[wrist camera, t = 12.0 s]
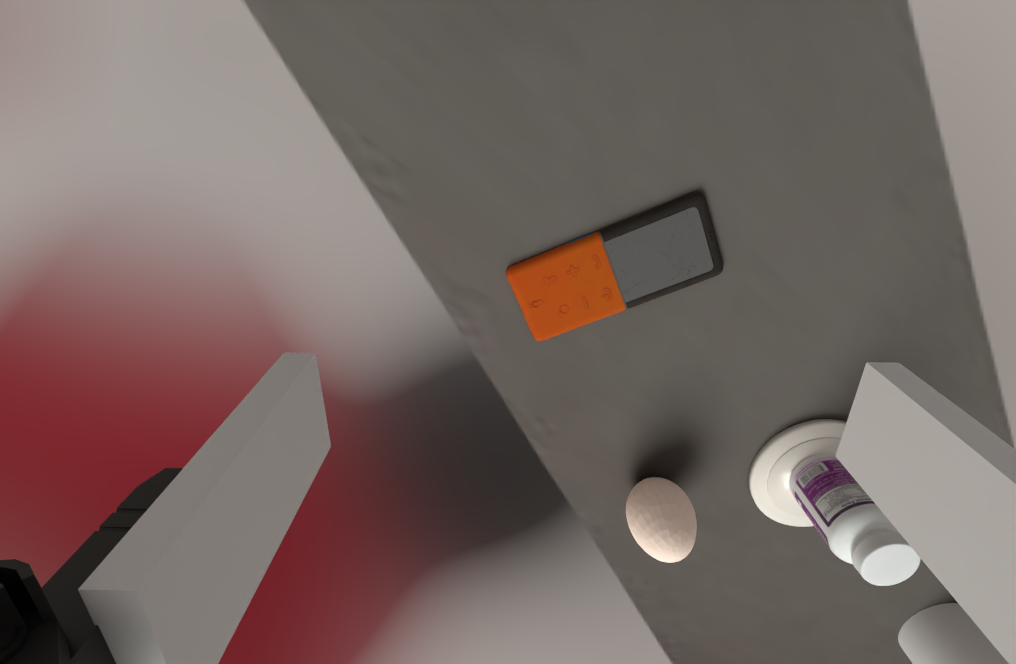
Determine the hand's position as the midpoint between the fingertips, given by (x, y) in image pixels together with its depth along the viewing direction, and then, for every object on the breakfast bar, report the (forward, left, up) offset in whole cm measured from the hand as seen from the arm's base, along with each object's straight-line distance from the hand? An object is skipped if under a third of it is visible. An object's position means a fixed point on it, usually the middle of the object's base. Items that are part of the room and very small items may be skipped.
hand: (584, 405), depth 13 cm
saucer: (+22, +26, -27) cm, 43 cm away
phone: (+5, +6, -28) cm, 29 cm away
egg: (+24, +12, -27) cm, 38 cm away
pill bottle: (+21, +26, -26) cm, 43 cm away
